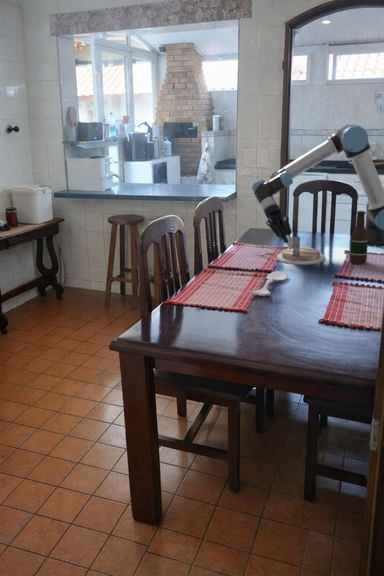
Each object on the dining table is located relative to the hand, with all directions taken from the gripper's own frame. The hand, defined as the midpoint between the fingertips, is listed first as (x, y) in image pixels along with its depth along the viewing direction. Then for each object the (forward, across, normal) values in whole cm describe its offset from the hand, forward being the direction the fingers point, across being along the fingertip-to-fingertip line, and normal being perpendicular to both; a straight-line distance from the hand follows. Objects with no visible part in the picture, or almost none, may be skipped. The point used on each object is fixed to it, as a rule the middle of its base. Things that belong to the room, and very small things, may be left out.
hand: (291, 247), depth 245 cm
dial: (+3, -7, -5) cm, 9 cm away
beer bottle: (+19, -23, +10) cm, 31 cm away
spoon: (+23, +32, +12) cm, 41 cm away
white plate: (+4, -7, -6) cm, 10 cm away
